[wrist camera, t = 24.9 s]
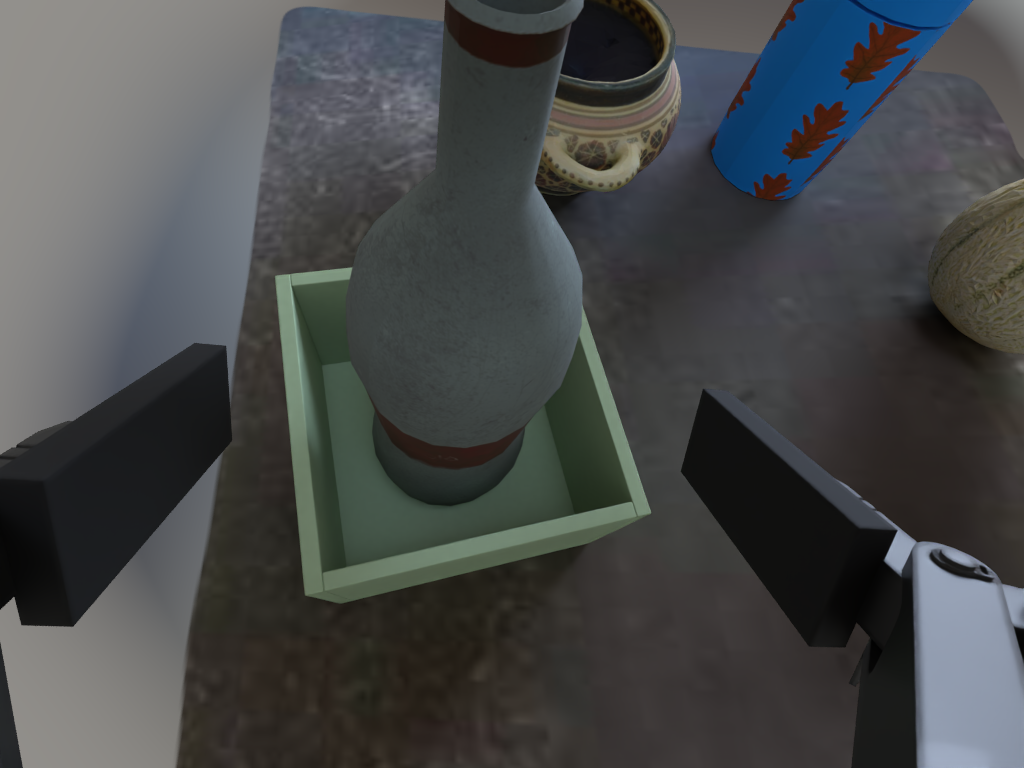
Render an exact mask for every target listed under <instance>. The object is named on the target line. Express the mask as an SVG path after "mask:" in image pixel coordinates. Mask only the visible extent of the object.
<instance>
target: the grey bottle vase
mask: <svg viewBox="0 0 1024 768" xmlns="http://www.w3.org/2000/svg"><path fill="white" fill-rule="evenodd" d="M583 5H584V0H446V1H445V16H444V34H443V52H442V69H441V87H440V104H439V122H438V140H437V157H436V169H435V170H434V171H433V172H432V173H430V174H429V175H428V176H427V177H426V178H425V179H423V180H422V181H421V182H420V183H419V184H417V185H416V186H415V187H414V188H413V189H412V190H410V191H409V192H408V193H407V194H406V195H405V196H403V197H402V198H401V199H400V200H399V201H398V202H396V203H395V204H394V205H393V206H392V207H391V208H389V209H388V210H387V211H386V212H385V213H383V214H382V215H381V216H380V217H379V218H378V219H376V221H375V222H374V224H373V225H372V226H371V228H370V229H369V231H368V232H367V234H366V235H365V237H364V238H363V240H362V241H361V243H360V244H359V246H358V249H357V253H356V256H355V260H354V263H353V267H352V272H351V276H350V280H349V285H348V289H347V294H346V334H347V340H348V346H349V352H350V359H351V364H352V366H353V368H354V369H355V371H356V373H357V374H358V376H359V378H360V380H361V381H362V383H363V385H364V387H365V389H366V391H367V393H368V396H369V398H370V400H371V402H372V405H373V407H374V409H375V412H374V418H373V427H372V436H373V442H374V448H375V454H376V456H377V458H378V460H379V462H380V463H381V465H382V467H383V469H384V471H385V472H386V474H387V476H388V477H389V478H390V479H391V480H392V481H393V483H395V484H396V485H397V486H398V487H399V488H400V489H401V490H403V491H404V492H405V493H406V494H407V495H408V496H410V497H412V498H415V499H417V500H420V501H422V502H425V503H427V504H431V505H444V506H453V505H458V504H462V503H466V502H470V501H473V500H475V499H476V498H478V497H480V496H481V495H483V494H485V493H487V492H488V491H490V490H491V489H493V488H494V487H495V486H497V485H498V484H499V483H500V482H501V481H502V480H503V478H504V477H505V476H506V475H507V474H508V473H509V472H510V470H511V469H512V468H513V467H514V465H515V462H516V460H517V457H518V455H519V453H520V450H521V448H522V444H523V438H524V433H525V426H526V425H527V424H528V422H529V421H530V420H531V419H532V417H533V416H534V415H535V414H536V413H537V412H538V411H539V410H540V409H541V408H542V407H543V405H544V404H545V403H546V402H547V401H548V400H549V399H550V398H551V397H552V395H553V394H554V393H555V392H556V391H557V390H558V389H559V388H560V387H561V384H562V382H563V379H564V377H565V374H566V372H567V369H568V367H569V364H570V362H571V359H572V356H573V353H574V350H575V346H576V343H577V340H578V336H579V333H580V330H581V326H582V272H581V270H580V267H579V264H578V261H577V258H576V255H575V253H574V250H573V247H572V245H571V244H570V242H569V240H568V239H567V237H566V235H565V234H564V232H563V230H562V229H561V227H560V225H559V224H558V222H557V220H556V219H555V217H554V215H553V214H552V212H551V210H550V209H549V207H548V205H547V203H546V202H545V200H544V198H543V197H542V195H541V193H540V192H539V190H538V188H537V187H536V185H535V179H536V175H537V171H538V166H539V162H540V158H541V153H542V149H543V145H544V141H545V136H546V132H547V128H548V123H549V119H550V115H551V110H552V106H553V102H554V97H555V93H556V89H557V84H558V80H559V76H560V71H561V67H562V63H563V58H564V54H565V50H566V45H567V41H568V37H569V32H570V28H571V24H572V22H573V21H574V20H576V18H577V17H578V15H579V14H580V12H581V10H582V9H583Z"/></svg>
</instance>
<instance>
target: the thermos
mask: <svg viewBox="0 0 1024 768" xmlns="http://www.w3.org/2000/svg"><path fill="white" fill-rule="evenodd" d="M972 1H973V0H793V1H792V3H791V4H790V6H789V8H788V10H787V11H786V13H785V14H784V16H783V18H782V19H781V21H780V23H779V24H778V26H777V28H776V30H775V31H774V33H773V35H772V36H771V38H770V40H769V41H768V43H767V45H766V46H765V48H764V50H763V51H762V53H761V55H760V56H759V58H758V60H757V61H756V63H755V65H754V66H753V68H752V70H751V71H750V73H749V75H748V76H747V78H746V80H745V81H744V83H743V85H742V87H741V88H740V90H739V92H738V93H737V95H736V97H735V98H734V100H733V102H732V103H731V105H730V107H729V109H728V111H727V113H726V115H725V116H724V118H723V120H722V122H721V124H720V126H719V128H718V130H717V132H716V134H715V136H714V137H713V142H712V147H711V152H712V155H713V159H714V163H715V165H716V166H717V167H718V169H719V170H720V172H721V173H722V175H723V176H724V177H725V178H726V179H727V180H728V181H730V182H731V183H732V184H733V185H734V186H736V187H737V188H738V189H740V190H742V191H744V192H746V193H748V194H750V195H752V196H754V197H758V198H763V199H768V200H783V199H789V198H791V197H793V196H795V195H797V194H799V193H800V192H801V191H802V190H803V189H804V188H805V187H806V186H807V185H808V184H809V183H810V182H811V181H812V180H813V179H814V178H815V177H816V176H817V175H818V174H819V173H820V172H821V171H822V170H823V169H824V168H825V167H826V166H827V165H828V164H829V163H830V161H831V160H832V159H833V158H834V157H835V156H836V155H837V153H838V152H839V151H840V150H841V149H842V148H843V147H844V146H845V144H846V143H847V142H848V141H849V140H850V139H851V138H852V137H853V135H854V134H855V133H856V132H857V131H858V130H859V129H860V128H861V126H862V125H863V124H864V123H865V122H866V121H867V120H868V118H869V117H870V116H871V115H872V114H873V113H874V112H875V111H876V109H877V108H878V107H879V106H880V105H881V104H882V103H883V102H884V100H885V99H886V98H887V97H888V96H889V95H890V94H891V92H892V91H893V90H894V89H895V88H896V87H897V86H898V85H899V83H900V82H901V81H902V80H903V79H904V78H905V77H906V76H907V74H908V73H909V72H910V71H911V70H912V69H913V68H914V66H915V65H916V64H917V63H918V62H919V61H920V60H921V58H922V57H923V56H924V55H925V54H926V53H927V52H928V50H930V48H931V47H932V46H933V45H934V44H935V43H936V42H937V40H938V39H939V38H940V37H941V36H942V35H943V34H944V33H945V31H946V30H947V29H948V28H949V27H950V26H951V25H952V23H953V21H955V20H956V19H957V18H958V17H959V16H960V14H961V13H962V12H963V11H964V10H965V9H966V8H967V7H968V5H969V4H970V3H971V2H972Z"/></svg>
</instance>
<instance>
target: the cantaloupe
mask: <svg viewBox="0 0 1024 768" xmlns="http://www.w3.org/2000/svg"><path fill="white" fill-rule="evenodd" d="M928 280H929V287H930V295H931V298H932V300H933V302H934V303H935V305H936V306H937V308H938V309H939V311H940V312H941V313H942V314H943V315H944V316H945V317H946V318H947V319H948V320H949V322H950V323H951V324H952V325H953V326H954V327H955V328H957V329H958V330H959V331H960V332H961V333H963V334H964V335H966V336H968V337H969V338H971V339H973V340H974V341H976V342H977V343H979V344H981V345H984V346H986V347H989V348H992V349H996V350H1000V351H1003V352H1008V353H1017V354H1024V179H1023V180H1018V181H1017V182H1015V183H1010V184H1008V185H1005V186H1003V187H1002V188H999V189H998V190H996V191H994V192H991V193H989V194H987V195H986V196H984V197H982V198H980V199H979V200H977V201H976V202H975V203H974V204H972V205H971V206H969V207H968V208H967V209H965V210H964V211H963V212H962V213H960V214H959V215H958V216H957V218H956V219H955V220H953V222H952V223H951V224H950V225H948V227H947V228H946V229H945V230H944V232H943V233H942V234H941V236H940V238H939V239H938V241H937V243H936V246H935V248H934V250H933V251H932V256H931V260H930V261H929V268H928Z"/></svg>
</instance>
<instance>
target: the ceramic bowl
mask: <svg viewBox="0 0 1024 768" xmlns="http://www.w3.org/2000/svg"><path fill="white" fill-rule="evenodd" d="M675 48H676V38H675V31H674V29H673V27H672V25H671V23H670V20H669V19H668V17H667V16H666V14H665V13H664V12H663V10H662V9H661V8H660V7H659V6H658V5H657V4H656V3H655V2H654V1H653V0H584V5H583V9H582V10H581V12H580V14H579V15H578V17H577V18H576V20H574V21H573V22H572V24H571V28H570V32H569V37H568V41H567V45H566V50H565V54H564V58H563V63H562V67H561V71H560V76H559V80H558V84H557V89H556V93H555V97H554V102H553V106H552V110H551V115H550V119H549V123H548V128H547V132H546V136H545V141H544V145H543V149H542V153H541V158H540V162H539V166H538V171H537V175H536V179H535V185H536V187H537V188H538V190H539V192H541V193H545V194H550V195H556V196H569V195H573V194H576V193H579V192H586V191H601V192H609V191H614V190H617V189H619V188H621V187H623V186H624V185H626V184H627V183H628V182H630V181H631V180H632V179H633V178H634V176H635V175H636V174H637V173H639V172H640V171H642V170H643V169H644V168H645V167H647V166H648V165H649V164H650V163H651V162H652V161H653V160H654V159H655V158H656V157H657V156H658V155H659V154H660V153H661V151H662V150H663V149H664V147H665V146H666V144H667V142H668V141H669V139H670V137H671V135H672V133H673V131H674V128H675V126H676V122H677V119H678V115H679V111H680V106H681V85H680V78H679V74H678V70H677V67H676V64H675V61H674V59H673V58H674V54H675Z"/></svg>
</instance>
